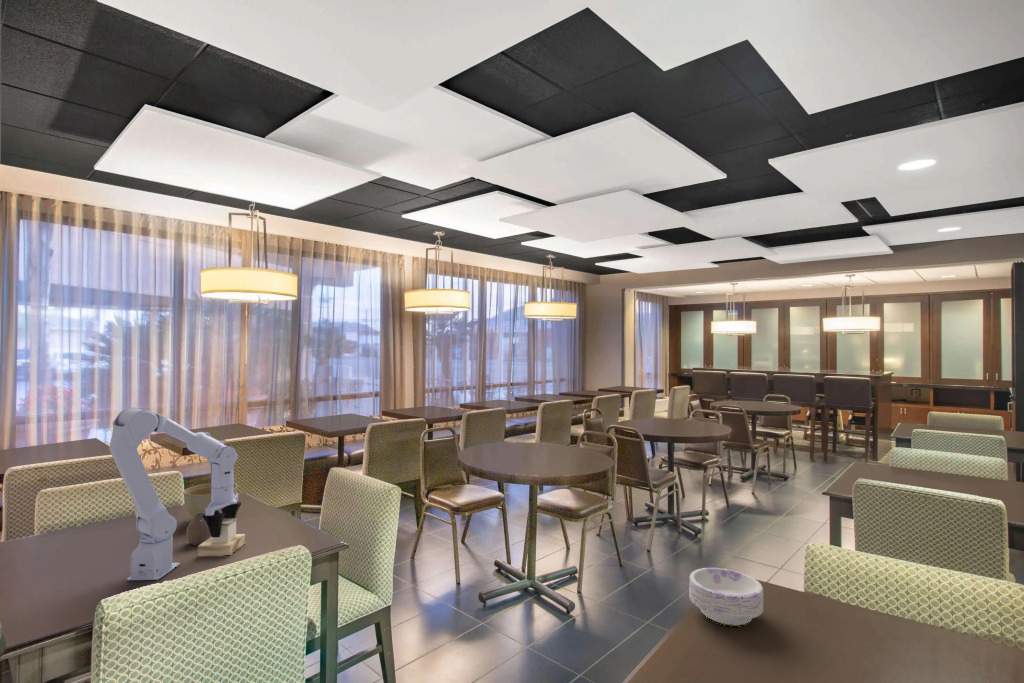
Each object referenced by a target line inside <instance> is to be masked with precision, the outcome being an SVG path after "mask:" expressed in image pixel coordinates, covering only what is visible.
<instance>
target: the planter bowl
mask: <svg viewBox="0 0 1024 683" xmlns="http://www.w3.org/2000/svg"><path fill="white" fill-rule="evenodd" d="M237 491H238V484H236V483H234V494H237V493H238V492H237ZM183 498H184V500H183V501H184V506H185V508H186V510H187V512H188V514H189V515H190V516H191V517H192V519H193V518H194V516H195V514H197V513H205V509H206V508H207V507H208V506H209V504H210V503H211V483H203V484H198V485H195V486H191V487H189V488H185V489H184V490H183ZM218 512H220V513H222V510H221V509H220V510H218Z"/></svg>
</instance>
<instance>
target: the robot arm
mask: <svg viewBox="0 0 1024 683" xmlns="http://www.w3.org/2000/svg"><path fill="white" fill-rule="evenodd" d="M111 432H112V433H111V438H110V443H109V447H108V448H109V452H110V454H111V457H112V459H113V461H114V463H115V465H116V467H117V470H118V471H119V474H120V476H121V478H122V481H123V483H124V485H125V487H126V490H127V492H128V494H129V496H130V497H131V500H132V502H133V504H134V508H135V511H134V514H135V518H136V522H135V527H136V530H137V531H138V533H140V536H139V543H138V546H137V547H136V548H135V549H134V550H133V551H132V552H131V555H130V575H129V576H128V577H127V579H126V580H127V581H158V580H160V579H162V578H163V577H164V576H166V575H167V574H168V573H170V572H171V571H173V570H174V569H176V568H177V567H179V566H180V565H181V562H173V556H174V555H173V546H174V545H173V543H174V542H173V537H174V536H173V535H174V533H175V532H176V530H177V527H178V521H177V519H176V517H174V516H172V515H171V514H170V513H169V512H168V509H167V508H166V506H164V504H163V503H162V502H161V501H160V499H159V497H158V495H157V492H156V490H155V487H154V485H153V483H152V480H151V478H150V476H149V474H148V471H147V469H146V467H145V466H144V465H145V464H144V463H143V461H142V459H141V456H140V454H139V451H138V448H139V446H140V445H141V443H142V442H143V441H144V440H145V439H146V438H147V437H149V435H150V434H152V433H153V432H155V433H161V432H162V433H164V434H166V435H168V436H170V437H173V438H175V439H177V440H179V441H181V442H184V443H186V444H185V445H186V447H187V450H188V451H190V452H192V453H194V454H196V455H198V456H200V457H201V458H204V459H206V460H207V461H208V463H210V464H211V474H210V475H211V479H210V481H211V503H210V504H209V506H208V507H207V508H206V509H205V513H204V514H203V519H204V520H205V521H206V523H207V525H208V528H209V531H210V534H211V537H220V534H221V526H222V521H223V518H237V517H236V516H237V514H238V511H239V509H240V507H241V506H242V502H241V501H238V500H239V493H236V494H234V484H235V483H234V482H235V480H234V479H235V478H234V477H235V474H234V471H235V470H234V468H235V464H236V462H237V461H238V458H239V454H238V453H237V450H236V448H234V447H233V446H230V445H227V444H224V443H225V441H223V440H220V439H219V440H218V439H216V438H214V437H213V436H211V433H210V432H208V431H204V432H203V431H199V432H193V431H191V430H190V429H188V428H186V427H185V426H182V424H179V423H178V422H176V421H174V420H172V419H171V418H169V417H167V416H165V415H163V414H160V413H156V412H154V411H153V410H150V409H141V408H137V407H128V408H125V409H123V410H121V411H120V412H119V413H118V414H117V416H116V417H115V418H114V419H113V421H112V431H111ZM220 509H221V510H222V513H220V512H218V510H220ZM175 567H176V568H175Z"/></svg>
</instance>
